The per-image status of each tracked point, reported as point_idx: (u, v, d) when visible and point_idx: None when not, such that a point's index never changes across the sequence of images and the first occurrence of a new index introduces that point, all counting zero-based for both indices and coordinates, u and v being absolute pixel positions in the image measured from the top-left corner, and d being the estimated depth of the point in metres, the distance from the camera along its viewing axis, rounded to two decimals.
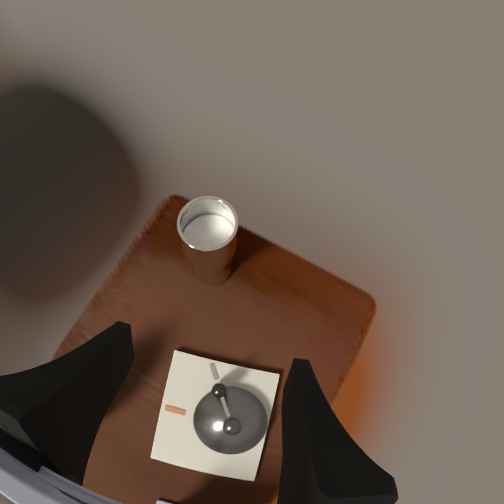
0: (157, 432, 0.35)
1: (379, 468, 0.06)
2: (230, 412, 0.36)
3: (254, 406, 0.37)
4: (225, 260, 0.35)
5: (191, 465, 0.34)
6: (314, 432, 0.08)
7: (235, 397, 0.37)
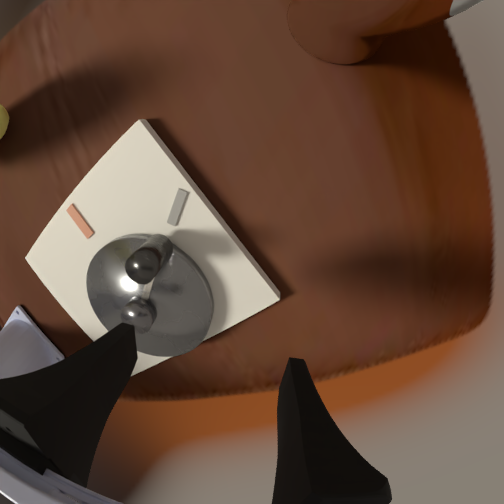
0: (44, 233, 0.20)
1: (373, 468, 0.06)
2: (152, 293, 0.20)
3: (195, 315, 0.20)
4: (393, 7, 0.05)
5: (66, 305, 0.23)
6: (308, 431, 0.08)
7: (177, 280, 0.19)
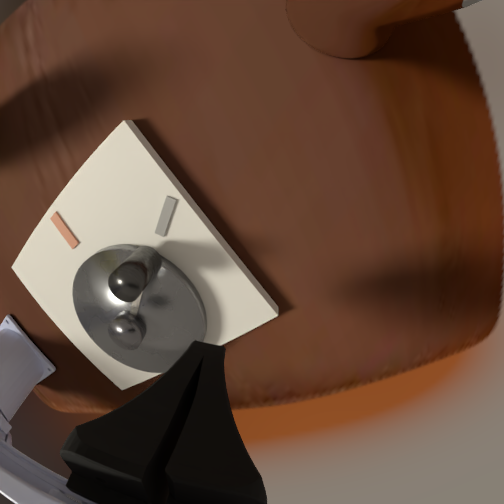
0: (29, 242, 0.19)
1: (249, 463, 0.06)
2: (140, 308, 0.18)
3: (187, 331, 0.19)
4: None
5: (54, 316, 0.21)
6: (196, 414, 0.08)
7: (166, 295, 0.18)
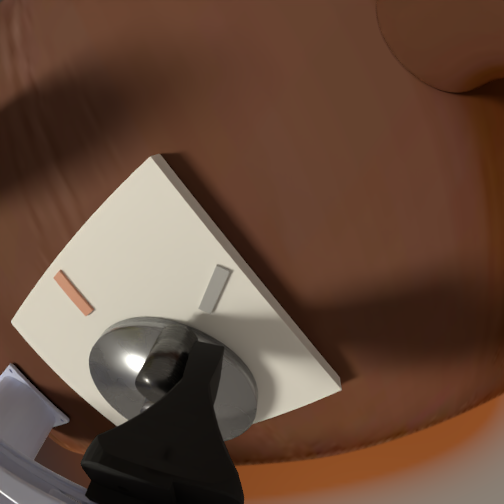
0: (29, 300, 0.15)
1: (227, 460, 0.06)
2: None
3: (236, 407, 0.15)
4: None
5: (66, 378, 0.18)
6: (177, 410, 0.08)
7: None
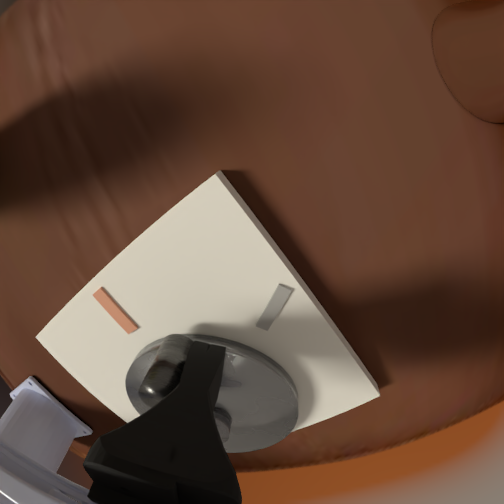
0: (60, 316, 0.15)
1: (225, 460, 0.06)
2: None
3: (272, 398, 0.14)
4: None
5: (97, 393, 0.18)
6: (175, 410, 0.08)
7: (225, 374, 0.14)
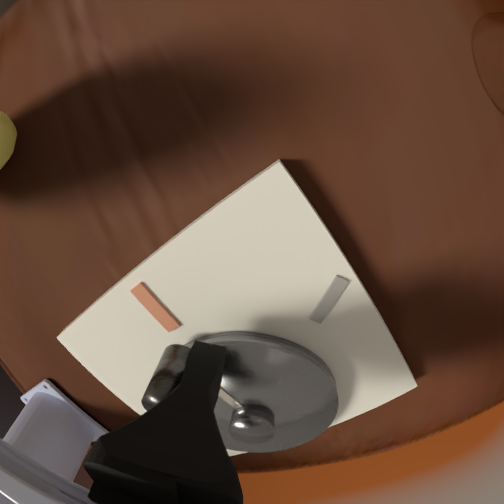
0: (89, 314, 0.15)
1: (226, 460, 0.06)
2: (236, 397, 0.14)
3: (292, 375, 0.13)
4: None
5: (123, 396, 0.17)
6: (177, 410, 0.08)
7: (233, 367, 0.14)
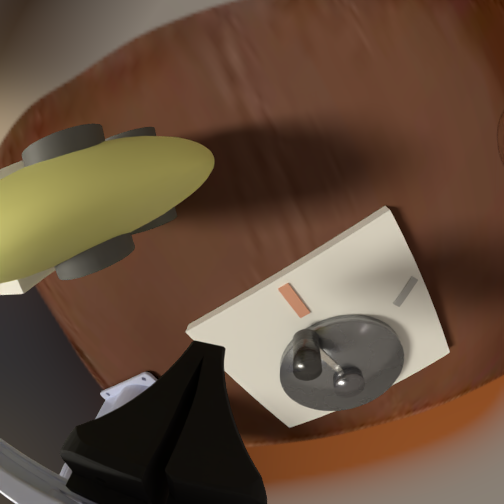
0: (231, 309, 0.21)
1: (249, 464, 0.06)
2: (339, 363, 0.21)
3: (377, 340, 0.20)
4: None
5: (238, 375, 0.24)
6: (196, 415, 0.08)
7: (340, 340, 0.20)
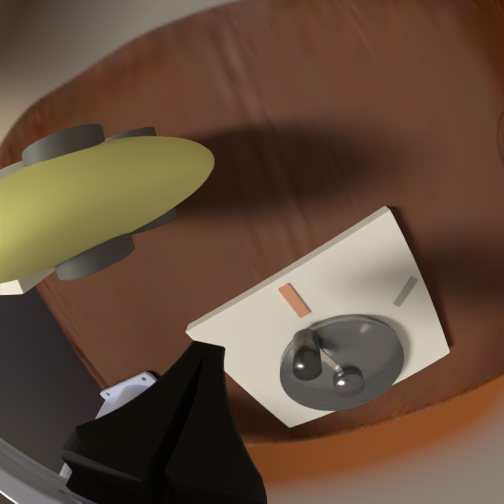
0: (231, 309, 0.21)
1: (249, 464, 0.06)
2: (339, 363, 0.21)
3: (377, 340, 0.20)
4: None
5: (238, 375, 0.24)
6: (196, 415, 0.08)
7: (340, 340, 0.20)
